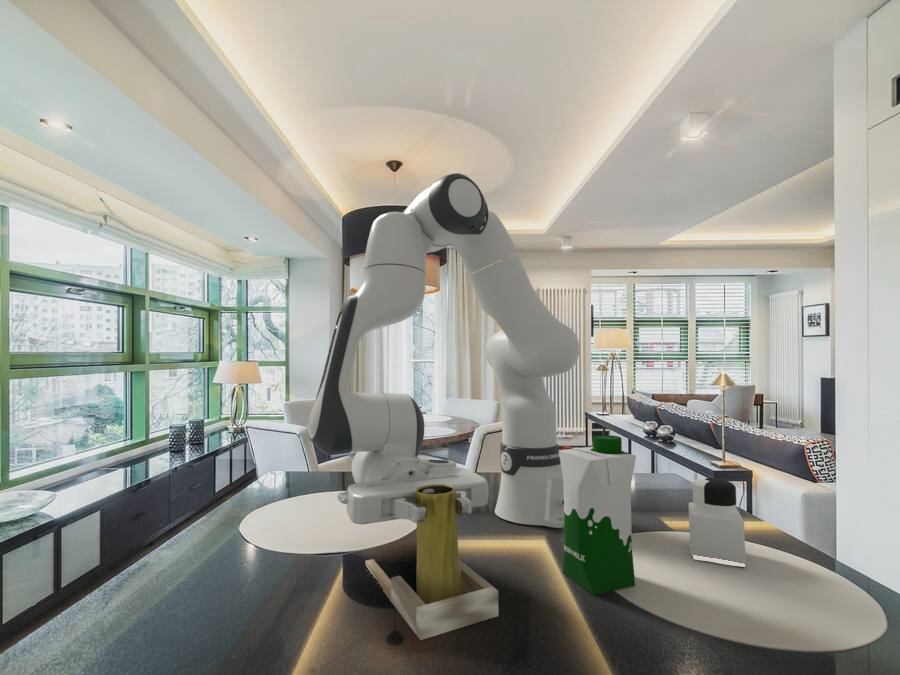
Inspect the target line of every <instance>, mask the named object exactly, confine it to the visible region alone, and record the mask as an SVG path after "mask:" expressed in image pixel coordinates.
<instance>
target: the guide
mask: <svg viewBox="0 0 900 675" xmlns="http://www.w3.org/2000/svg"><path fill="white" fill-rule="evenodd" d="M364 564H365V565H366V567H367V568H368V570H369V571H370V573H371V574H372V575H373V577H374V578H375V579H376V580H377V581H378V583H379V584H380V586H381V587H382V589H383V590H382V589H381V590H382V591H383V593H384V595H386V597H387V598H388V599H389V601H390V602H391V604H392V605H393V606H394V607H395V609H396V610H397V611H398V613H399V614H400V615H401V617H402V618H403V620H405V622H406V624H408V626H409V628H411V630H412V632H414V634H415V636H417V638H418V639H419V641H422V640H426V639H429V638H432V637H435V636H440V635H441V634H446V633H448V632H451V631H454V630H459V629H461V628H464V627H468V626H471V625H474V624H478V623H480V622H484V621H486V620H489V619H493V618H497V617H499V590H498V589H497V588H496V587H494V586H493V585H492V584H491V583H489V582H488V581H487V580H486V579H484V578H483V577H482V576H480V575H479V574H478V573H477V572H475V571H474V570H473V569H472V568H471V567H469V566H468V565H467V564H466V563H464V562H463V561H460V570H461V580H462V590H463V595H459V596H456V597H452V598H448V599H445V600H441V601H437V602H434V603H430V604H427V605H426V604H425V603H424V602H423V601H422V600H421V599H420V597H419V596H418V595H417V592H415V591H414V590H413V588H412V587H411V586H410V585H409V584H408V583H407V582H406V581H405V580H404V578H403V577H402V576H401V575H397V576H393V577H392V576H391V578H389V576H388V575H387V574H386V573H385V572H384V570H383V569H382V568H381V567H380V565H379V564H378V563H377V562H376V561H375V560H374V558H372V559H368V560H365V563H364ZM368 570H367V571H368ZM370 573H369V574H370ZM371 574H370V575H371ZM373 577H372V578H373ZM374 578H373V579H374ZM378 583H377V584H378ZM380 586H379V587H380ZM381 587H380V588H381Z"/></svg>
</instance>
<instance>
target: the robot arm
mask: <svg viewBox="0 0 900 675" xmlns="http://www.w3.org/2000/svg"><path fill="white" fill-rule="evenodd" d="M449 246H450V247H452V248H453V249H454V250H455V251H456V252H457V253H458V254H459V256H460V257H461V261H462V264H463V266H464V268H465V271H466V273H467V275H468V279H469V282H470V284H471V285H472V288H473V291H474V293H475V295H476V297H477V300H478V302H479V304H480V307H481V309H482V310H483V311H484V312H485V314H487V315H489V316H490V318H492V319H493V320H494V321H495V323H496V324H497V325H498V326H499V328H500V330H498V331H497V332H495V333H494V334H492V335H491V336H490V337H489V339H488V341H487V342H486V346H485V356H486V360H487V362H488V364H489V365H490V366H491V368H492V370H493V372H494V376H495V379H496V380H495V381H496V384H497V388H498V392H499V397H500V404H501V420H502V421H501V423H502V424H501V425H502V428H501V430H502V433H501V434H502V442H501V443H500V446H499V447H500V450H499V451H500V453H499V454H500V455H499V457H500V458H499V461H500V468H501V476H500V484H499V490H498V496H497V500H496V501H497V502H496V505H495V507H494V514H495V516H497V517H498V518H501V519H503V520H505V521H509V522H512V523H515V524H520V525H528V526H545V527H548V528H553V529H554V528H556V529H562V528H564V482H563V474H562V468H561V462H560V456H559V450H568V449H572V448H573V447H572V446H568V445H561V446H560V445H559V444H558V443H557V408H556V404H555V402H554V401H553V400H552V399H551V396H549V394H548V392H547V389H546V387H545V386H546V385H545V384H544V379H543V378H551V377H555V376H559V375H562V374H564V373H567V372H569V371H570V370H572V369H573V368H574V366H575V365H576V364H577V362H578V360H579V357H580V343H579V339H578V336H577V335H576V333H575V331H573V329H572V328H571V327H570V326H568V325H566V324H564V323H563V322H561V321H560V320H559V319H558V318H557V317H555V315H554V314H553V313H552V312H551V311H550V310H549V308H548V307H547V306H546V304H544V302H543V300H541V298H540V297H539V295H538V294H537V292H536V291H535V289H534V287H533V285H532V283H531V281H530V278H529V277H528V274H527V272H526V268H525V267H524V264H523V262H522V260H521V258H520V255H519V253H518V251H517V248H516V246H515V244H514V241H513V240H512V238H511V236H510V234H509V232H508V230H507V228H506V227H505V225H504V224H503V222H502V221H501V219H500V218H499V217H498V215H497V214H496V213H495V212H493V211H492V210H489V207H488V204H487V202H486V199H485V196H484V194H483V192H482V190H481V189H480V188H479V186H478V185H477V183H475V181H473V180H472V179H471V178H470V177H469V176H467V175H465V174H462V173H458V172H457V173H450V174H447V175H444V176H441V177H439V178H438V179H436V180H435V181H434V182H433V184H431V185H429V186H427V187H426V188H425V189H424V190H422V191H420V192H419V193H418V194H417V195H416V196H415V198H414V200H412V201H411V202H410V203H409V205H408V206H407V207H405V208H403V210H402V211H389V212H386V213H383V214H381V215H379V216H378V217H377V218H376V219H374V221H373V222H372V224H371V226H370V230H369V236H368V238H367V243H366V248H365V256H364V262H363V263H364V266H363V275H362V281H361V283H360V286H359V288H358V290H356V292H355V294H352V295H349V296H347V297H346V298H345V300H344V302H343V303H342V306H341V308H340V310H339V312H338V315H337V319H336V323H335V326H334V329H333V332H332V336H331V340H330V345H329V348H328V352H327V356H326V360H325V364H324V369H323V374H322V376H321V381H320V384H319V387H318V391H317V394H316V397H315V400H314V404H313V405H312V408H311V411H310V415H309V419H308V437H309V440H310V441H311V443H312V444H313V445H314V446H315V447H316V448H317V449H318V450H319V451H320V452H322V453H323V454H325V455H326V456H329V457H330V456H335V455H336V456H337V455H345V454H350V453H355V455H354V456H353V458H352V462H351V474H352V477H353V480H354V483H352V484H350V485H349V486H347V489H346V490H345V491H343V492H339V493H338V494H337V500H338V502H339V503H341V504H343V505H346V512H347V516H348V518H349V519H350V521H351V522H352V523H353V524H356V525H363V526H364V525H369V524H375V523H381V522H382V523H383V522H387V521H388V522H389V521H394V520H407V521H411V522H412V523H413V524H417V522H423V521H425V520H426V516H425V514H426V508H425V506H422V504H416V489H417V488H419V487H422V486H426V485H432V484H444V485H450V486H453V487H454V488H455V489H456V504H457V515H459V516H467V515H471V514H472V511H473V510H472V509H473V508H474V509H475V508H479V507H480V508H481V507H485V506H487V504H488V501H489V491H490V490H489V483H488V480H487V479H486V478H485V477H484V476H482V475H481V474H480V475H479V474H478V473H476V472H474V471H471V470H469V469H466V468H464V467H463V468H462V467H458V466H457V462H455V461H453V460H447V459H428V458H427V459H426V458H421V457H418V456H419V454H420V452H421V449H422V448H423V447H422V446H423V442H424V438H425V420H424V415H423V413H422V410H421V408H420V406H419V405H418V403H417V402H416V401H415V399H414V398H413V397H412V396H410V395H409V394H407V393H394V392H392V393H390V392H387V393H385V392H380V393H379V392H378V393H377V392H354V391H350V388H349V386H350V381H351V377H352V373H353V369H354V364H355V359H356V357H357V356H356V355H357V352H358V348H359V344H360V341H361V340H362V338H363V337H364V336H365V335H366V334H367V333H368V334H369V332H372V331H374V330H377V329H380V328H384V327H388V326H391V325H394V324H398V323H400V322H403V321H405V320H407V319H409V318H411V317H412V316H413V315H415V313H417V311H418V310H420V308H421V306H422V304H423V302H424V298H425V293H426V284H427V283H426V279H427V260H426V259H427V256H430V255H433V254H435V253H437V252H438V251H440V250H442V249H446V248H447V247H449ZM423 493H424V494H428V493H434V490H433V489H425V490H423Z"/></svg>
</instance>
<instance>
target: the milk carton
mask: <svg viewBox="0 0 900 675" xmlns="http://www.w3.org/2000/svg"><path fill="white" fill-rule="evenodd" d="M622 442H623V441H622V437H620V436H618V435H608V434H596V435H593V436H592V446H586V447H572V449H568V450H559V456H560V462H561V468H562V474H563V482H564V527H563V533H564V534H563V536H564V538H563V541H564V542H563V559H562V561H563V564H562V573H563V575H565V576H566V577H568V578H569V579H571V580H572V581H574V582H575V583H576V584H577V585H579V586H581V587H582V588H584V589H585V591H587V592H588V593H591V594H592V595H593V596H597V595H602V594H606V593H610V592H614V591H619V590H623V589H627V588H631V587H635V586H636V579H635V567H634V558H633V557H634V554H633V540H632V537H633V536H632V535H633V534H632V496H631V495H632V493H631V492H632V491H631V490H632V489H631V488H632V480H633V475H634V469H635V464H636V459H637V456H636V455H635V454H631V453H630V452H627V451H625V450H622V448H623V446H622V444H623V443H622Z"/></svg>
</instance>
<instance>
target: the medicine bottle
mask: <svg viewBox="0 0 900 675" xmlns="http://www.w3.org/2000/svg"><path fill="white" fill-rule="evenodd" d="M692 499H693V501H692V502H689V503H688V530H689V531H688V532H689V533H688V534H689V535H688V536H689V537H688V538H689V546H690V545H691V548H690V552H691V551H692V554H693V555H697V556H703V557H709V558H717V559H722V560H728V561H733V562H738V563H742V564H743V563H744V564H745V563H746V542H745V540H746V539H745V538H746V537H745V536H746V534H745V533H746V532H745V521H744V519H743V517H742V515H741V513H740V511H739V509H738V508H737V488H736V485H734V483H732V482H730V481H729V480H726V479H722V478H717V477H708V476H706V477H705V476H704V477H703V476H702V477H698V478H696V479H694V480H693V481H692ZM692 554H691V555H692Z"/></svg>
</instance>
